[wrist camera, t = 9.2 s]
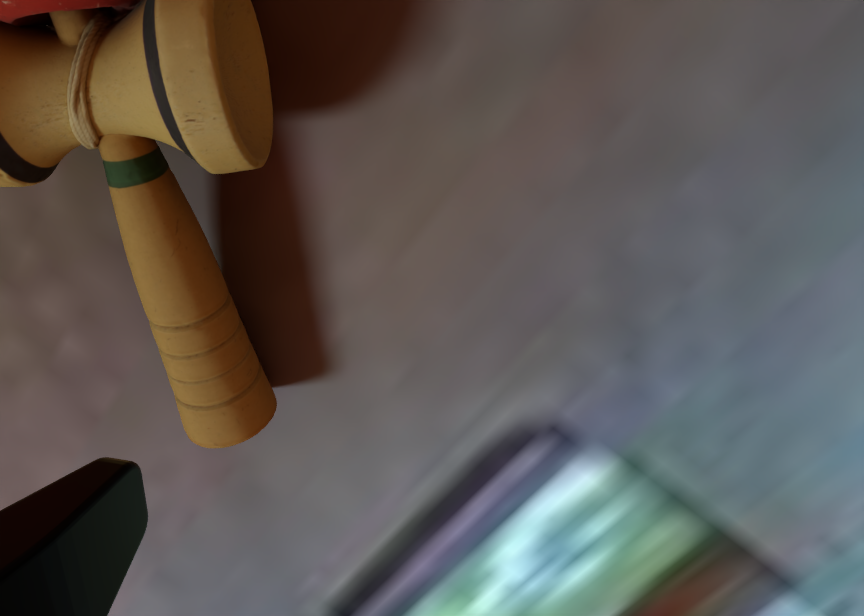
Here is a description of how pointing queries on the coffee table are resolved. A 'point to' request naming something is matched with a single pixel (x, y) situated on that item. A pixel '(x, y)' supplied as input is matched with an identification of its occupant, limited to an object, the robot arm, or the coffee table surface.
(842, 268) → the coffee table surface
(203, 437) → the kendama
